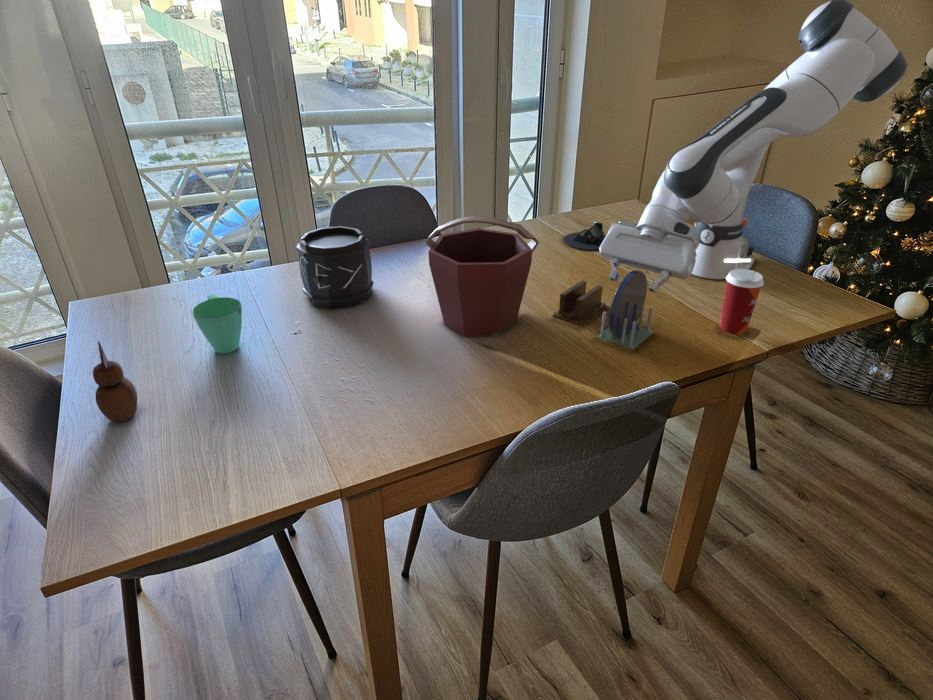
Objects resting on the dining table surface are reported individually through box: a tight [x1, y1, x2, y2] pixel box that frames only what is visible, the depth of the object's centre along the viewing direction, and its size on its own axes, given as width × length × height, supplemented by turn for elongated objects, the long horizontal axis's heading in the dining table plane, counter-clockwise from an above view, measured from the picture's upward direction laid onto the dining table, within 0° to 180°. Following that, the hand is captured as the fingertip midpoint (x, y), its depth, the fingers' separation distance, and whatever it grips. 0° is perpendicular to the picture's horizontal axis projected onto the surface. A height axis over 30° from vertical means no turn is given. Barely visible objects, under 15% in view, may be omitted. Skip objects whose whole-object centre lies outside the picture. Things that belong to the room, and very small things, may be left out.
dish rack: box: [595, 304, 654, 350], centre depth 135 cm, size 10×9×7 cm
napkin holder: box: [552, 279, 607, 326], centre depth 145 cm, size 13×7×6 cm, turn 140°
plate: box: [608, 269, 648, 338], centre depth 133 cm, size 15×1×15 cm, turn 140°
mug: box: [192, 293, 243, 354], centre depth 134 cm, size 15×10×10 cm
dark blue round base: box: [563, 221, 607, 251], centre depth 188 cm, size 15×15×6 cm
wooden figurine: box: [92, 340, 138, 423], centre depth 110 cm, size 7×6×15 cm
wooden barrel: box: [295, 225, 374, 310], centre depth 154 cm, size 18×18×16 cm
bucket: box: [425, 215, 540, 337], centre depth 138 cm, size 24×22×25 cm
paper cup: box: [719, 269, 765, 335], centre depth 136 cm, size 8×8×14 cm
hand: (632, 285), depth 130 cm, fingers open, 8 cm apart
